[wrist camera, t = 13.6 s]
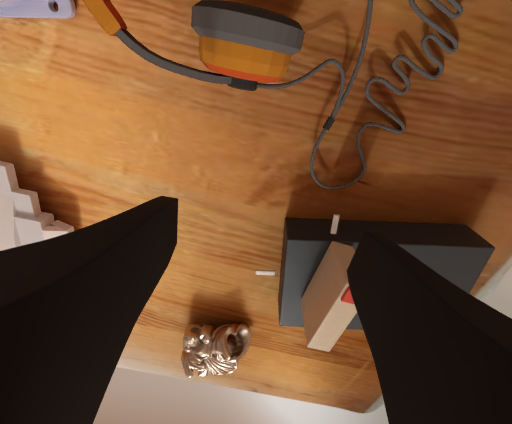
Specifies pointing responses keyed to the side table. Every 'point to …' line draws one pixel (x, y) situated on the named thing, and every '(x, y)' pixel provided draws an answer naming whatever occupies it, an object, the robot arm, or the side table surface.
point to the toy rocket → (23, 214)
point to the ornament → (214, 348)
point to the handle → (328, 299)
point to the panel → (350, 233)
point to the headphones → (268, 52)
